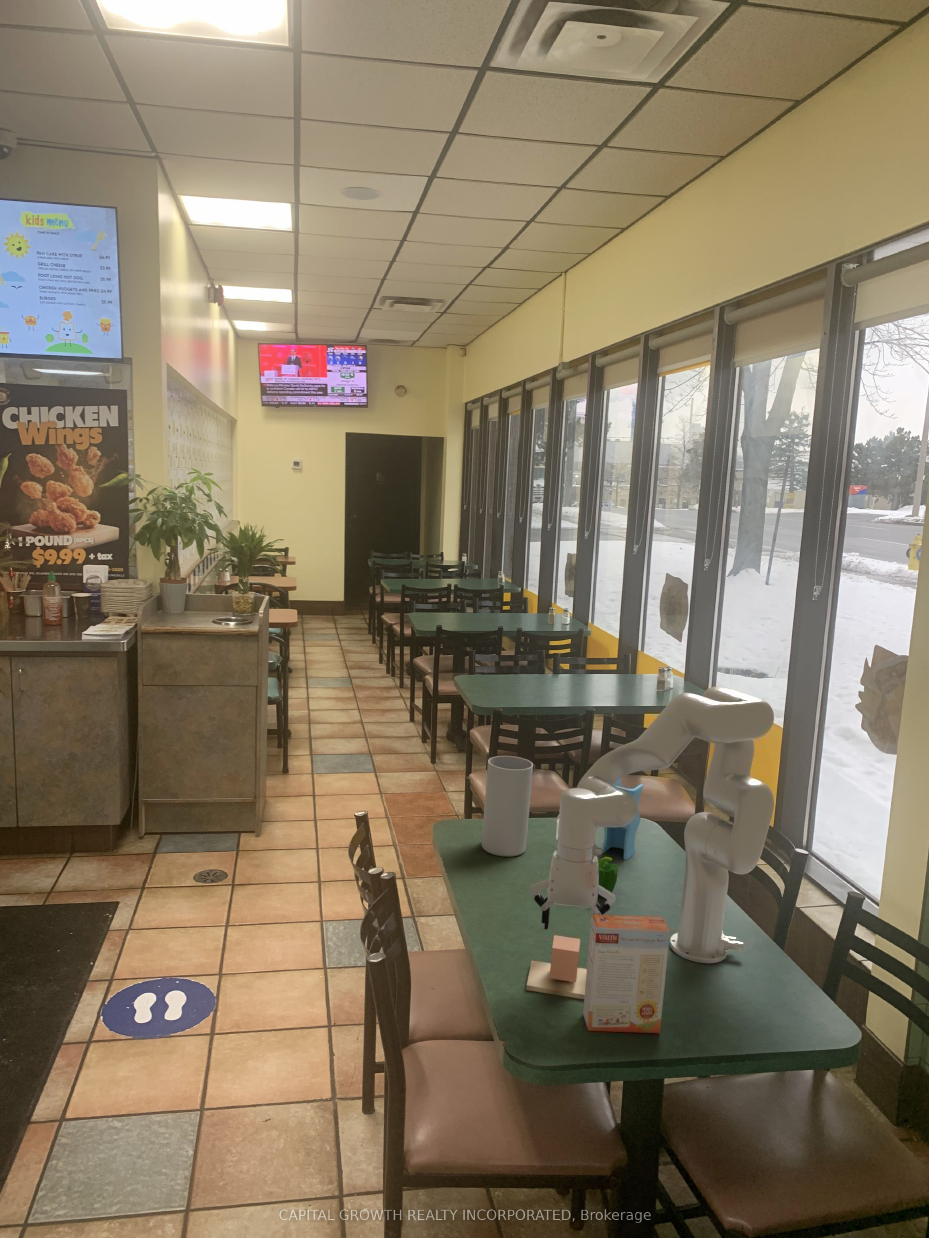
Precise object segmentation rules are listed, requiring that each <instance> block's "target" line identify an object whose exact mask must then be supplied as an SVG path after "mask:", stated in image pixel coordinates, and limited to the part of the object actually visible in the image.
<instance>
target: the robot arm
mask: <svg viewBox="0 0 929 1238" xmlns="http://www.w3.org/2000/svg"><path fill="white" fill-rule="evenodd" d="M774 713H775V712H774V710H773V707H772V706H771V705H770V703H768V702H767V701H765V700H764V699H762V698H758V697H757V696H753V695H750V694H746V693H744V692H741V691H737V690H735V689H731V688H727V687H723V686H712V687H709V688H707V689H706V690H705V692H704V693H703V695H699V694H695V693H692V692H682V693H680V694H677V695H676V696H675V697H673V698H672V700H670V702H669V703H668V704H667V705H666V706H665V708H664V709H662V711H661V712H660V713H659V714H658V715H657V716H656V718H655V719H654V720H653V721H652V722H651V723H650V724H649V725H648V727H646V729H645V730H644V731H643V732H642V734H641V735H640V736H638V738H637V739H635V740H633V741H631V742H628V743H626V744H624V745H621V746H619V747H616V748H615V749H613V750H611V751H609V752H607V753H606V754H604V755H603V756H601V757H600V758H599V759H597V760H596V761H595V762H594V763H593V765H592V766H591V767H589V769H588V770H587V772H586V773H584V775H583V776H582V777H581V778H580V780H579V782H578V783H577V786H576V787H572V788H567V789H566V790H564V791H563V792H562V793H561V795H560V800H559V814H558V815H559V817H558V829H557V841H556V842H557V843H556V844H557V846H556V850H554V852H553V853H552V856H551V859H550V860H551V861H550V866H549V873H548V878H547V879H544V880H541V881H538V882H535V883H532V884H530V887H529V890H530V893H531V894H532V897H533V900H534V901H535V903H536V904H537V905H538V906H539V907H540V910H541V924H544V926H543V929H544V930H548V929H549V924H550V913H551V906H552V905H561V906H568V907H575V908H576V907H577V908H585V909H590V910H591V912H592V915H593V914H594V915H605V914H606V913H608V911H610V909H611V907H612V906H613V905H614V903H615V902H616V900H617V898H616V897H617V896H616V894H614V893H613V892H612V893H611V892H609V891H608V890H606V889H605V888H603V887H602V886H600V885H599V865H598V860H599V857H598V855H602V854H603V853H602V847H599V846H597V844H596V839H597V838H596V836H597V835H596V834H597V828H604V827H622V826H625V825H627V824H629V823H631V822H632V821H633V820H634V818H635V817H636V814H637V803H636V801H635V799H634V798H633V797H632V796H631V795H630V794H629V793H627V792H625V791H623V790H622V789H620V788H618V787H616V786H614V784H615V783H616V782H617V781H618V780H620V781H621V779H622V778H625V777H626V776H628V775H630V774H633V773H638V772H645V771H656V770H664V769H667V768H669V767H670V766H672V764H673V763H674V762H675V760H676V759H678V758H679V755H680V754H681V753H682V752H683V751H684V750H685V749H686V748H687V746H688V745H689V744H690V743H691V742H692V741H693V740H694V739H695V738H698V739H700V740H703V741H704V742H705V741H706V742H707V743H712V744H714V746H713V751H712V756H711V759H710V764H709V766H708V770H707V774H706V776H705V777H706V778H705V782H704V786H703V792H702V793H703V798H704V799H703V800H704V801H705V802H706V803H707V804H708V805H709V806H710V807H712V808H714V809H716V810H718V811H720V812H722V813H724V814H726V815H727V816H730V817H732V818H733V822H732V821H731V820H729V819H727V818H724V817H722V816H720V815H718V814H716V813H713V812H709V811H702V812H701V811H700V812H698V813H695V814H693V815H692V816H691V817H690V818H689V820H687V822H686V824H685V828H684V832H683V833H684V836H683V837H684V838H683V839H684V850H685V851H684V852H685V866H684V877H683V884H682V885H683V886H682V895H681V902H680V903H681V904H680V913H679V921H678V931H677V932H676V933H675V932H674V934H672V935H671V936H670V937H669V947H670V949H671V950H672V951H673V952H674V953H675V954H676V955H678V956H679V957H681V958H682V959H686V960H689V961H691V962H694V963H701V964H717V963H720V962H722V961H724V960H725V959H726V958H727V956H728V950H734V951H738V952H743V950H744V942H743V941H738V940H737V937H736V936H728V935H726V934H724V931H723V930H724V921H725V913H726V906H727V905H726V904H727V903H726V902H727V895H728V889H729V882H730V881H729V872H731V873H734V874H737V875H745V874H748V873H749V874H750V872H751V871H753V870H754V869H755V867H756V866H757V865H758V863H759V861H760V859H761V857H762V853H763V850H764V846H765V843H766V839H767V835H768V831H769V828H770V825H771V822H772V818H773V814H774V810H775V799H774V793H773V792H772V790H771V788H770V787H769V785H767V784H766V783H764V782H763V781H761V780H759V779H757V778H754V777H752V776H751V769H752V765H753V761H754V756H755V743H754V742H755V741H754V740H757V739H760V738H762V737H764V736H766V734H767V733H768V732H769V731H771V729H772V727H773V725H774V721H775V714H774ZM544 889H547V891H546V893H547V894H546V897H543V896H542V894H541V893H540V890H544ZM598 894H599V895H601V896H600V897H603V898H605V900H606V901H605V902H604V903H602V904H601V905H600V904H599V902H598V897H599V896H598Z"/></svg>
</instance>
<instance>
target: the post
mask: <svg viewBox="0 0 929 1238" xmlns="http://www.w3.org/2000/svg"><path fill="white" fill-rule="evenodd" d="M530 962H531V963H530V967H529V972H528V976H527V982H526V987H525V988H526V989H525V990H527V991H530V992H531V991H532V992H538V993H544V994H549V995H554V996H555V995H556V996H560V997H561V996H562V997H568V998H574V999H580V1000H584V997H585V986H586V975H587V968H583V967H578V969H577V979H576V982H570V981H564V980H558V979H551V978H550V967H551V962H544V961H538V960H531V961H530Z"/></svg>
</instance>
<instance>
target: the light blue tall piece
mask: <svg viewBox="0 0 929 1238" xmlns="http://www.w3.org/2000/svg"><path fill="white" fill-rule="evenodd" d="M614 786H616V787H618V788H620V789H622V790H623V791H625V792H627V793H629V794H630V795H631V796H632V797H633V798H634V799H635V801H636V803H637V814H636V817H635V818H634V820H633V821H632V822H631V823H629V824H627V825H625V826H622V827H603V830H604V838H603V839H604V840H603V844H602V847H601V848H602V854H605V853H606V852H607V851H608V850H609V849H610V848H619V849H621V850H623V860H625V861H627V860H629V859H630V858H631V857H633V856H634V854H636V848H635V847H636V845H635V843H636V842H635V841H636V835H637V831H638V828H639V825H640V823H641V815H640V812H639V801H640V795H641V793H642V790H643V788H644V784H642V783H641V784H639V785H637V786H636V787H634V788H627V787H623V786H621V779H620V780H618V781H617V782H616V783H615V784H614Z"/></svg>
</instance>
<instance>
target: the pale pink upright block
mask: <svg viewBox="0 0 929 1238" xmlns="http://www.w3.org/2000/svg"><path fill="white" fill-rule="evenodd" d="M580 946H581V939H580V938H577V937H569V936H568V937H567V936H563V935H556V934H555V935H553V941H552V946H551V947H552V948H551V957H550V958H551V959H550V963H551V967H550V978H551V979H558V980H564V981H570V982H576V979H577V969H578V968H579V967H578V966H579V957H580V949H581V948H580Z"/></svg>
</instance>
